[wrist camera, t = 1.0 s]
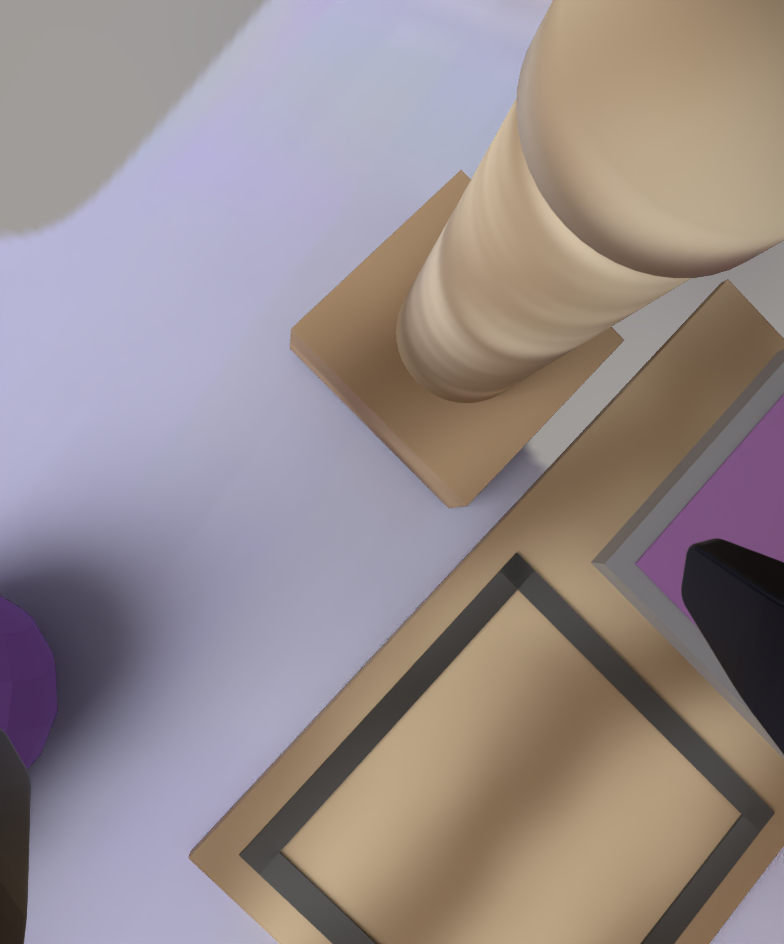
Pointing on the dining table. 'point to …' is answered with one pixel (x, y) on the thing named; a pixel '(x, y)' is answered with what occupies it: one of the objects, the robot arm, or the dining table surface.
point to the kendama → (25, 682)
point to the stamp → (562, 230)
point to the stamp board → (530, 726)
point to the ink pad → (707, 521)
